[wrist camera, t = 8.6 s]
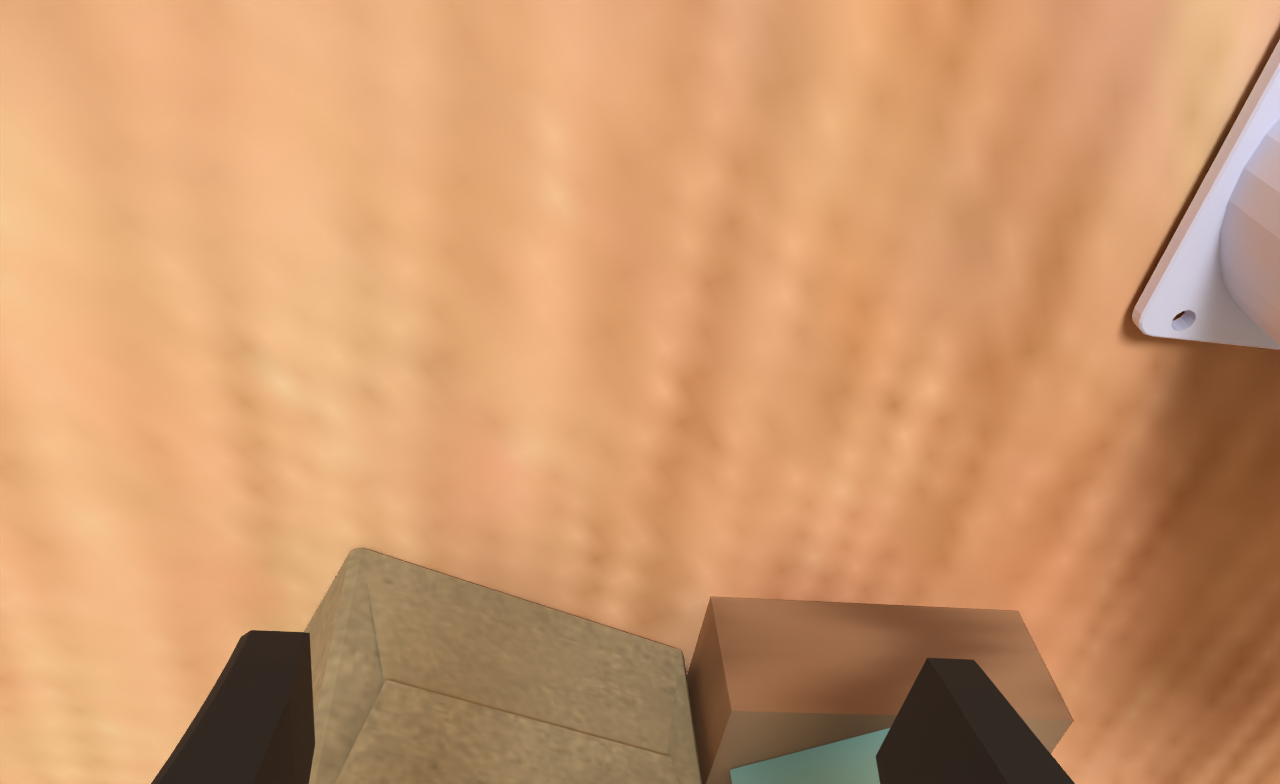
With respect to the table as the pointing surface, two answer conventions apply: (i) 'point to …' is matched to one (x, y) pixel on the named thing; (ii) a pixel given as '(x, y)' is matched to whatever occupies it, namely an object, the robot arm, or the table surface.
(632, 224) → the table surface
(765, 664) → the walnut block
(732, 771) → the teal cube
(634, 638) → the tissue box
